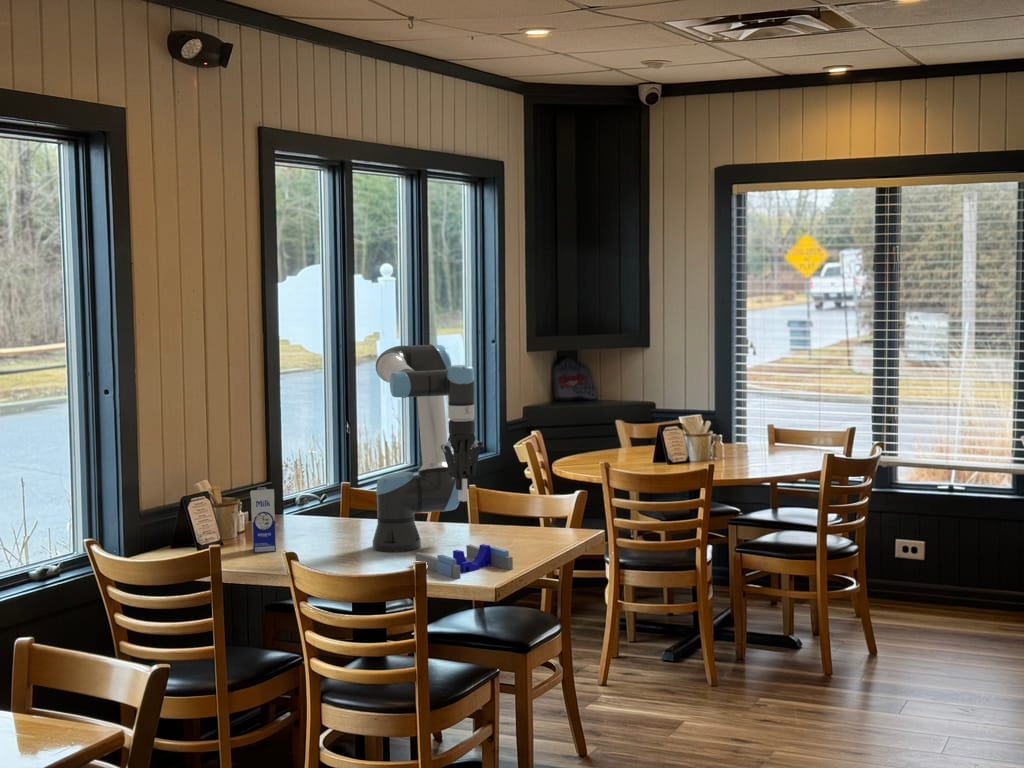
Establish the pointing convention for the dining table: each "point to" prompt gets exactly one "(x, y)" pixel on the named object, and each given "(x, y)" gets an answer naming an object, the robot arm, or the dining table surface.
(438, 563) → the blue grey block group
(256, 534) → the milk carton
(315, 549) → the dining table surface
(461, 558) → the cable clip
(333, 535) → the dining table surface
